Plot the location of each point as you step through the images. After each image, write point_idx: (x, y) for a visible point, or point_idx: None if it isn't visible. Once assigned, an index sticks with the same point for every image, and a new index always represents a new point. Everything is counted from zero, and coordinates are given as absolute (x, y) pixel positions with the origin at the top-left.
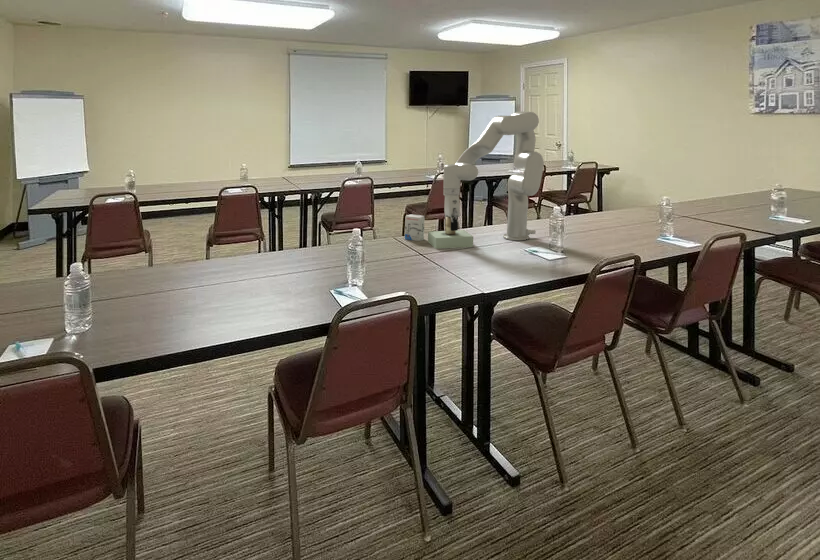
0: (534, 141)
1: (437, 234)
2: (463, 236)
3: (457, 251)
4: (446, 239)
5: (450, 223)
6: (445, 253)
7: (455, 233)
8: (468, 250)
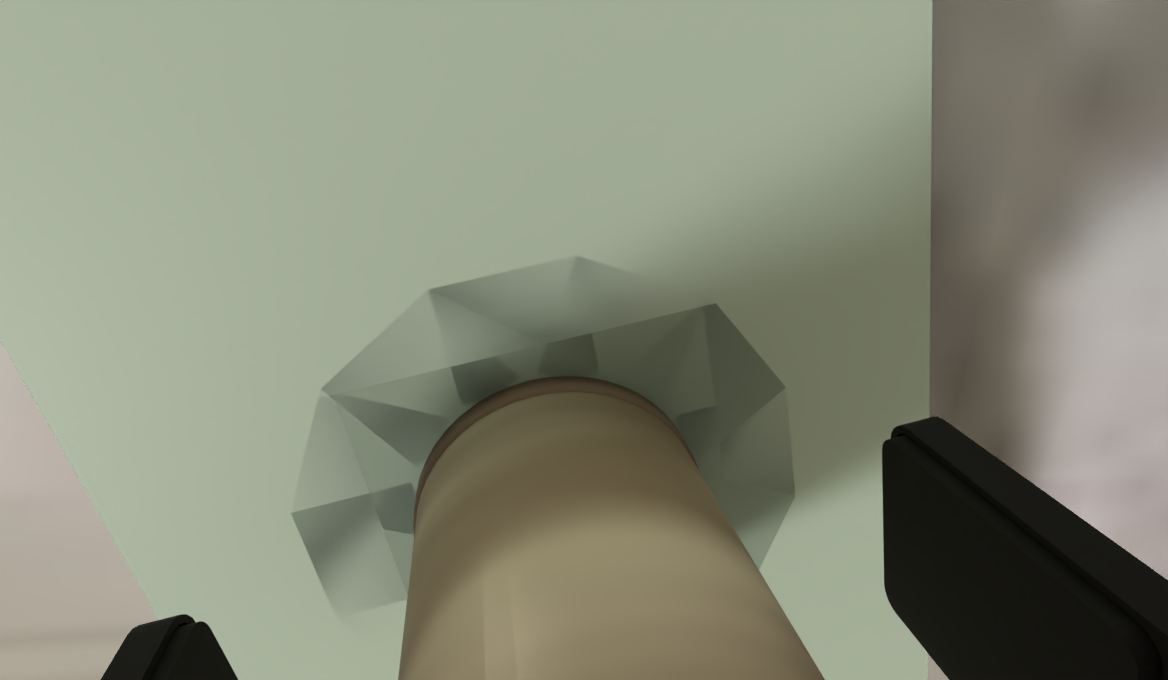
0: None
1: None
2: (892, 175)
3: (1042, 283)
4: None
5: None
6: (1098, 460)
7: (608, 389)
8: (1030, 71)
